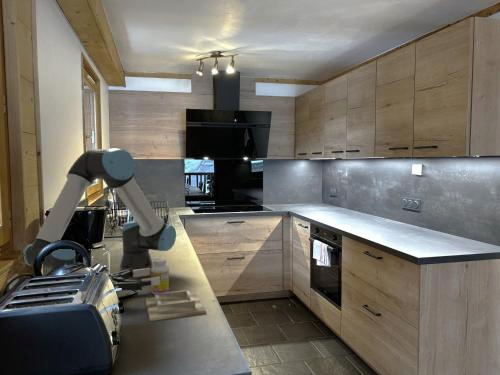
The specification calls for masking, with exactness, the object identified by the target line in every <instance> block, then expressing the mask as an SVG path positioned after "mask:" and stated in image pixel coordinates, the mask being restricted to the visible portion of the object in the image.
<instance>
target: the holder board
mask: <svg viewBox="0 0 500 375" xmlns="http://www.w3.org/2000/svg"><path fill="white" fill-rule="evenodd" d="M145 304H146V308H147V313H148V320H149V321H150V322H152V321H158V320H159V321H161V320H167V319H173V318H175V319H176V318H181V317H188V316H195V315H196V316H197V315H203V314H207V311H206V310H207V309H205V306H204V305H203V304H202V302H201V300H200V299H199V297H198V295H197V294H196V293H195V292H194V293H193V292H192V293H191V292H190V289H187V290H186V289H185V290H177V291H169V292H166V293H158V294H155V295H154V297H151V298H145Z"/></svg>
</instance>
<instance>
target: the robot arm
mask: <svg viewBox="0 0 500 375" xmlns="http://www.w3.org/2000/svg"><path fill="white" fill-rule="evenodd" d="M135 165H136V163H135V158H134V157H133V155H132V154H131V153H130V152H129V151H127V150H125V149H122V148H118V147H117V148H115V147H113V148H100V149H99V148H94V149H89V150H87V151H85V152H83V153H82V154H81V155H79V157H78V158H77V159H76V160H75V161H74V162H73V164H72V165H71V167H70V169H69V170H68V172H67V174H66V175H65V176H66V178H67V179H66V181H65V183H64V185H63V187H62V189H61V191H60V193H59V195H58V196H57V198H56V199H55V202H54V203H53V206H52V208H51V209H50V211H49V212H48V215H47V217H46V219H45V220H44V223H43V224H42V226H41V228H40V230H39V232H38V233H37V235H36V237H35V240H34V241H33V243H32V244H28V245H27V247H26V246H25V247H26V248H25V247H24V248H25V249H24V248H23V249H24V250H23V249H22V250H23V253H24V255H25V256H24V260H25V263H26V264H27V266H30V267H32V268H34V267H33V263H34V259H35V257H36V255H37V254H38V253H39V252H40V251H41V249H42V248H43V247H45V246H46V245H48V244H50V243H52V242H55V241H58V240H60V241H61V239H62V237H63V236H64V233H65V231H66V230H67V228H68V225H69V224H70V222H71V219H72V218H73V216H74V214H75V212H76V210H77V208H78V206H79V203H80V202H81V200H82V198H83V196H84V194H85V192H86V190H87V188H88V189H89V188H91V186H92V184H93V183H94V182H95V181H96V180H102V181H103V182H104V183H105V185H106V186H107V187H108V188H109V189H111V190H114V191H115V192H116V194H117V195H118V196H119V197H118V198H120V200H121V201H122V203H123V204H124V205H125V207H126V208H127V210H128V211H129V213H130V214H131V216H132V217H133V219H134V220H132V221H127V222H124V223H123V224H122V230H121V233H122V236H121V238H122V255H121V256H122V257H121V261H120V263H119V271H117V272H113V273H108V274H109V276H110V278H111V280H112V281H113V284H114V286H115V288H122V290H121V291H142V290H143V288H147V287H151V286H154V285H160V277H154V278H151V277H149V278H148V277H147V276H151V268H152V267H153V266H154V262H153V259H152V257H151V253H150V251H151V250H152V251H156V252H168V251H170V250H171V249H172V248H173V247H174V245H175V242H176V238H177V230H176V228H175V226H174V225H171V224H167V222H165V220H164V218H163V217H161V216H158V215H157V214H156V212H155V210H154V209H153V207H152V205H151V204H150V202H149V201H148V199H147V198H146V196H145V195H144V192H143V191H142V189H141V187H140V186H139V185H138V182H136V180H135V175H136V172H135V171H136V166H135ZM76 255H77V253H76V249H75V250H72V249H58V250H55V251H53V252H52V253H51V254H50V255H48V256H47V257H46V259H45V261H44V263H43V267H42V268H41V269H45V270H50V272H51V271H52V270H53V269H55V268H57V267H58V266H60V265H63V264H65V263H75V264H76ZM25 263H24V264H25ZM26 264H25V265H26ZM132 277H133V278H140V277H147V278H142V279H140V280H139V279H138V280H137V279H130V278H132Z"/></svg>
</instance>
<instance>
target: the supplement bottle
mask: <svg viewBox="0 0 500 375" xmlns="http://www.w3.org/2000/svg"><path fill="white" fill-rule="evenodd" d="M152 262H153V267H152V268H151V270H150V278H154V277H160V285H154V286H150V288H151V292H150V293H151V294H152V295H154V296H155V294H158V293H166V292H170V275H169V274H170V272H169V269H170V268H169V266H168V265H166V264H167V259H165V258H161V257H160V258H156V259H153V260H152Z"/></svg>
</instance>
